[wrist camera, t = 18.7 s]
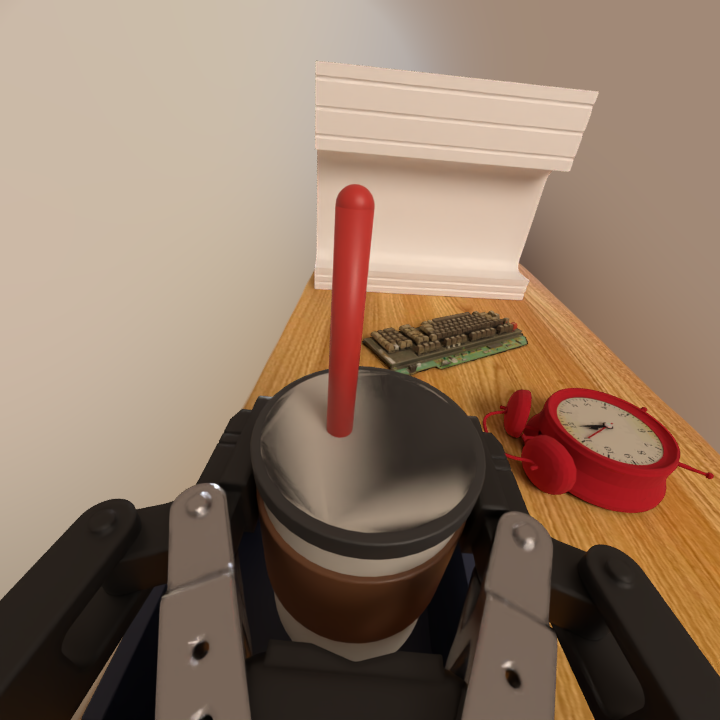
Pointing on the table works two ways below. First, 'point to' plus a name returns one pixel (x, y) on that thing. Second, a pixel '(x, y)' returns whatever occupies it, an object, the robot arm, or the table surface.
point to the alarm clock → (594, 448)
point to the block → (440, 173)
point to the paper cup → (360, 478)
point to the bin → (256, 632)
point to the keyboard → (445, 341)
